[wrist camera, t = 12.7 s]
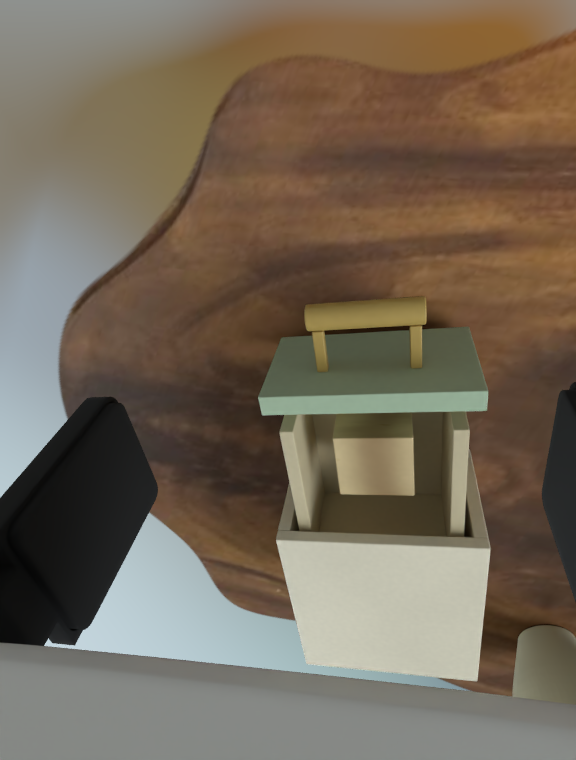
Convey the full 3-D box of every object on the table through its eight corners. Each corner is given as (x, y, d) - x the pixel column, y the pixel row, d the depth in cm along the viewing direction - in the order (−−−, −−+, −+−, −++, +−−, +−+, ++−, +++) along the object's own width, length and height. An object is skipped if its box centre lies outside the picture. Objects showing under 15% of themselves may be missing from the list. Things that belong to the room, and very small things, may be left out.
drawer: (271, 279, 29) (242, 331, 23) (472, 262, 26) (494, 315, 21) (308, 488, 38) (294, 562, 32) (461, 491, 35) (474, 571, 30)
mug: (608, 669, 45) (669, 837, 36) (495, 663, 48) (522, 819, 38) (621, 598, 40) (697, 774, 30) (492, 596, 43) (524, 757, 33)
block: (345, 447, 34) (339, 494, 30) (338, 394, 31) (332, 438, 28) (411, 447, 33) (414, 496, 29) (410, 392, 30) (413, 437, 27)
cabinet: (296, 449, 37) (275, 540, 30) (469, 448, 34) (490, 548, 27) (319, 569, 45) (306, 664, 38) (462, 577, 42) (477, 681, 35)
